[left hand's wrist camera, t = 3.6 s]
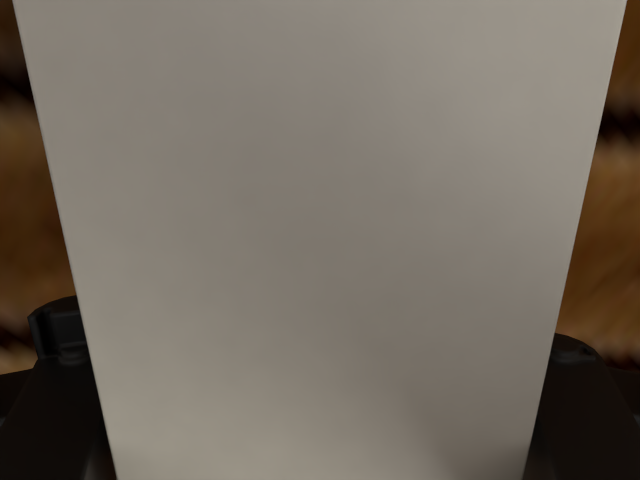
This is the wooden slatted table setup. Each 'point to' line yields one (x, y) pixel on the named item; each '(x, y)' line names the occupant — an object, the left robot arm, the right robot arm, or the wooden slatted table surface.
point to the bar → (319, 223)
